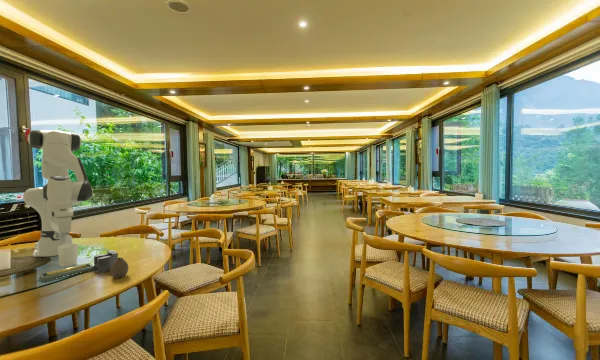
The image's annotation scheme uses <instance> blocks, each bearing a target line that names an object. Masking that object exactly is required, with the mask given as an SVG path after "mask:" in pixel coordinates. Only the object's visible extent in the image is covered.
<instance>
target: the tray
mask: <svg viewBox="0 0 600 360" xmlns="http://www.w3.org/2000/svg"><path fill="white" fill-rule="evenodd" d="M85 264H86V266H87V268H82V269H78V270H73V271H68V272H64V273H59V274H55V275H50V276H47V272H48V271H46V272H41V273H39V275H38V276H39V280H40V279H41V280H40V281H41V283H44V282H43V281H46V282H48V281H47V280H50V281H53V280H52V279H54V280H57V279H56V278H59V279H61V278H60V277H63V276H67V275H71V276H73V275H72V274H76V273H80V272H84V273H87V272H86V271H89V272H92V270H93V271H95V270H94V264H92V263H89V262H88V263H84V264H83V263H82V265H85ZM80 265H81V264H80ZM80 265H79V264H78V266H80ZM76 266H77V265H73V267H76ZM71 267H72V266H68V268H71ZM66 268H67V267H66ZM66 268H65V267H64V268H63V269H66ZM57 270H58V269H56V270H54V271H57ZM59 270H61V268H60V269H59ZM52 271H53V270H51V271H49V272H52ZM80 274H81V273H80ZM76 275H77V274H76ZM67 277H68V276H67ZM63 278H64V277H63Z"/></svg>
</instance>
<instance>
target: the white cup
mask: <svg viewBox="0 0 600 360" xmlns="http://www.w3.org/2000/svg"><path fill="white" fill-rule="evenodd" d="M78 252H79V243H72V244H65V245H61V246H58V255H57V256H58V261H59V267H61V268H63V267H64V268H65V266H67V267H72V266H75V265H76V263H78ZM74 264H75V265H74ZM71 265H72V266H71Z"/></svg>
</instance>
